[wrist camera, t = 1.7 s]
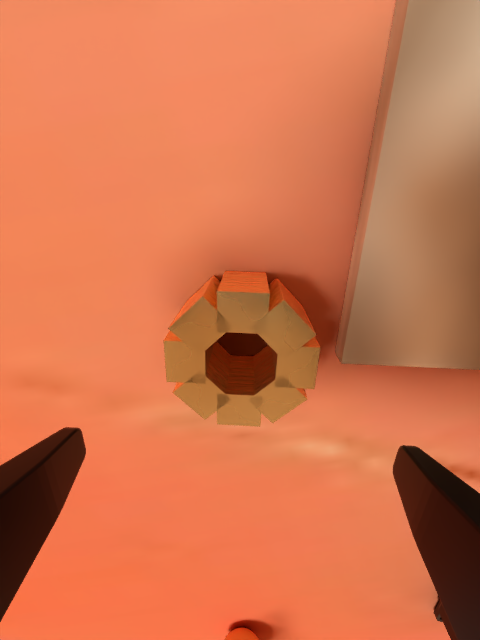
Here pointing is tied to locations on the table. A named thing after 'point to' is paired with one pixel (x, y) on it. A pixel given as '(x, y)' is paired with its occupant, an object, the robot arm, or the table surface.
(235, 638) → the figurine
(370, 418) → the table surface
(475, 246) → the gear board
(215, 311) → the brass gear
